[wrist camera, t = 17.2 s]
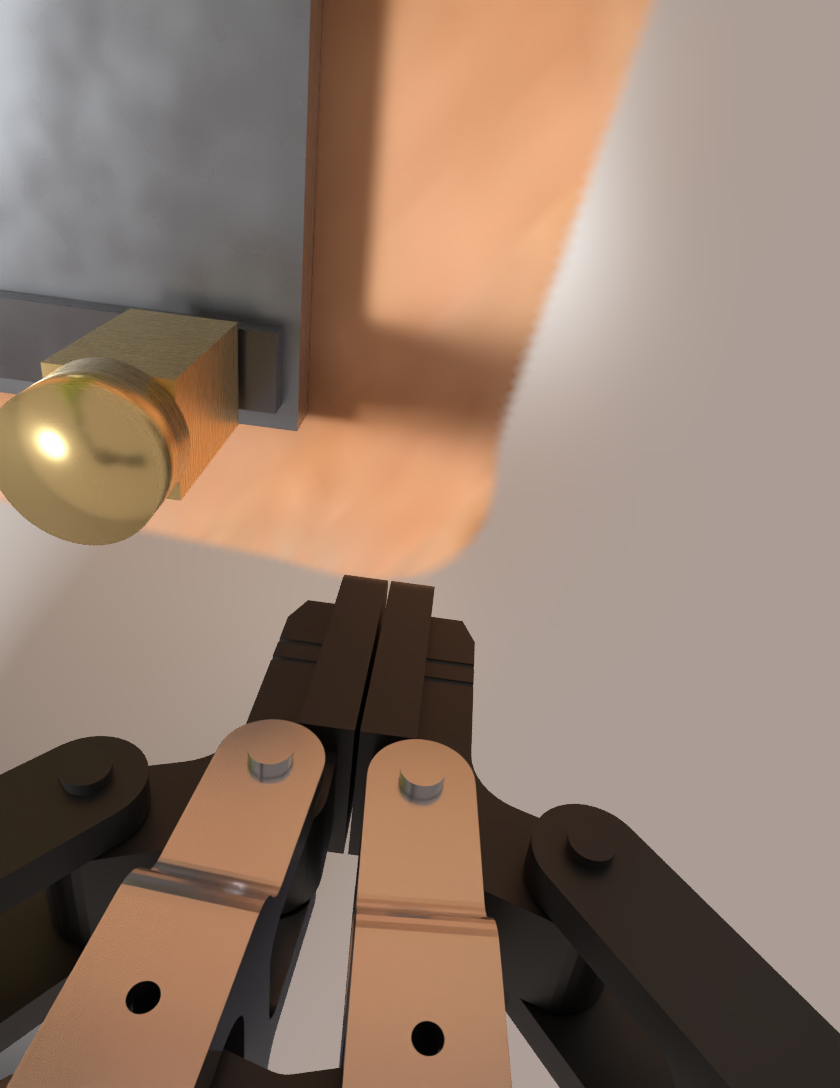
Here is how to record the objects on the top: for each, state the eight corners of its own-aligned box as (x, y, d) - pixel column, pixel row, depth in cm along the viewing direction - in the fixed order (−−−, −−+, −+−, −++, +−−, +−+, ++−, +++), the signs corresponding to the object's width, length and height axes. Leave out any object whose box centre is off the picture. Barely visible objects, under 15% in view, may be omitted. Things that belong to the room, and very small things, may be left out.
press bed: (-363, -677, 15) (-489, -790, 13) (345, -596, 15) (322, -700, 13) (-114, 358, 26) (-164, 381, 24) (306, 413, 26) (291, 441, 24)
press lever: (118, 295, 22) (-27, 376, 15) (248, 312, 21) (153, 399, 15) (128, 418, 23) (2, 533, 17) (248, 434, 23) (163, 555, 17)
